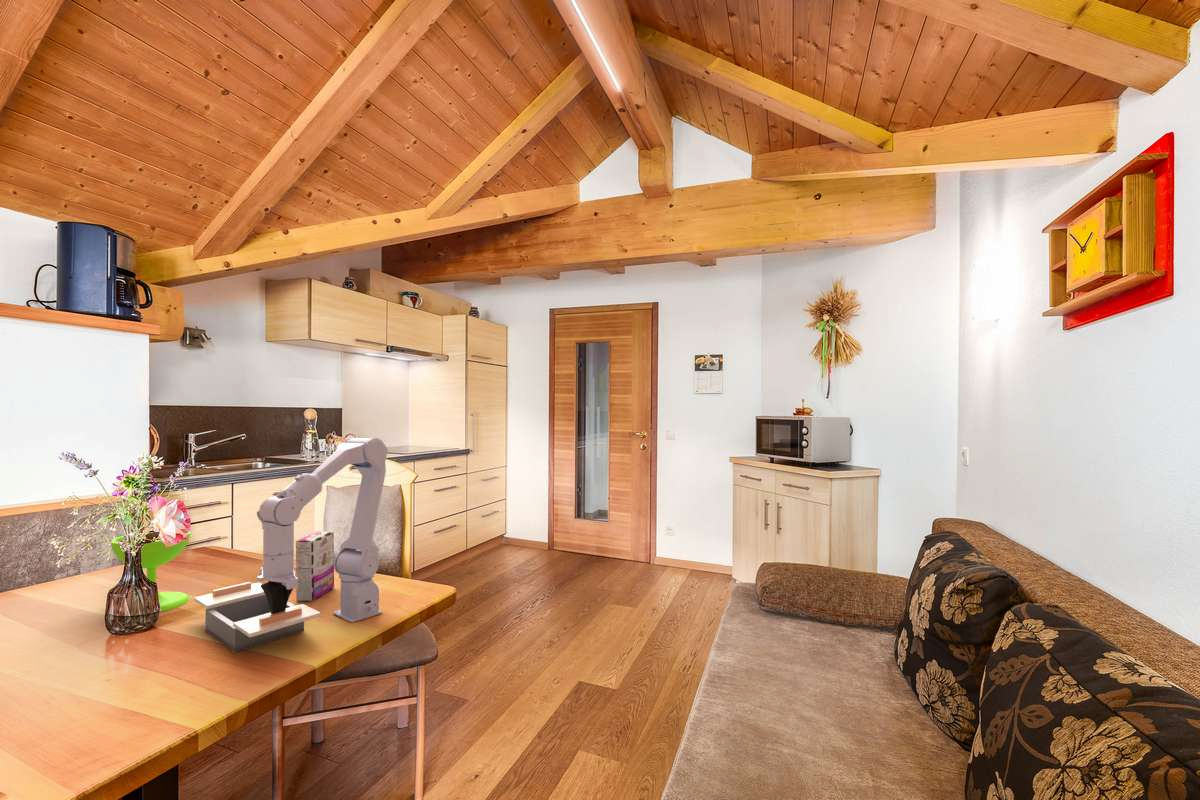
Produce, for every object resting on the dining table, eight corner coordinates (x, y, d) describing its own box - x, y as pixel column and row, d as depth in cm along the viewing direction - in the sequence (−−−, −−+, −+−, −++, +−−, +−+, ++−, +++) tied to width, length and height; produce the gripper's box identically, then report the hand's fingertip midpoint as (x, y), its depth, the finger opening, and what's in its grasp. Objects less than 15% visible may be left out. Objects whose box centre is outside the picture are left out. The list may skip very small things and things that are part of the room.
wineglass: (94, 619, 131) (95, 545, 131) (132, 597, 147) (132, 531, 147) (171, 613, 135) (172, 541, 136) (200, 592, 151) (201, 527, 151)
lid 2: (320, 616, 120) (320, 606, 120) (249, 637, 109) (249, 626, 109) (302, 607, 125) (302, 597, 125) (233, 626, 114) (233, 616, 114)
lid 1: (273, 592, 135) (273, 583, 135) (206, 609, 124) (207, 599, 124) (258, 585, 141) (258, 577, 141) (194, 600, 129) (194, 591, 129)
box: (304, 631, 125) (304, 609, 125) (234, 652, 114) (234, 629, 114) (271, 613, 136) (271, 593, 136) (205, 631, 125) (205, 609, 125)
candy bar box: (317, 587, 155) (317, 530, 155) (334, 588, 154) (335, 530, 155) (294, 601, 143) (295, 540, 144) (313, 602, 143) (313, 540, 144)
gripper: (244, 551, 118) (244, 613, 118) (272, 562, 110) (271, 629, 109) (279, 544, 124) (279, 603, 124) (308, 555, 115) (307, 618, 115)
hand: (278, 615), depth 117 cm, fingers closed
